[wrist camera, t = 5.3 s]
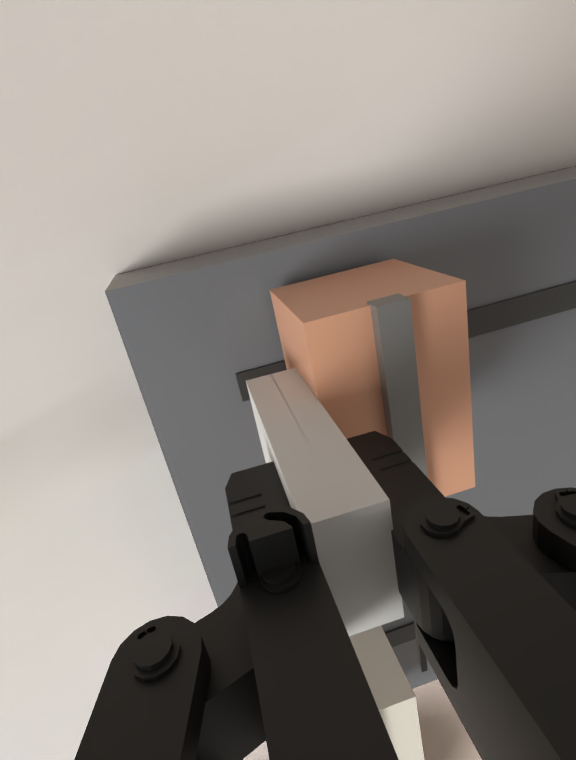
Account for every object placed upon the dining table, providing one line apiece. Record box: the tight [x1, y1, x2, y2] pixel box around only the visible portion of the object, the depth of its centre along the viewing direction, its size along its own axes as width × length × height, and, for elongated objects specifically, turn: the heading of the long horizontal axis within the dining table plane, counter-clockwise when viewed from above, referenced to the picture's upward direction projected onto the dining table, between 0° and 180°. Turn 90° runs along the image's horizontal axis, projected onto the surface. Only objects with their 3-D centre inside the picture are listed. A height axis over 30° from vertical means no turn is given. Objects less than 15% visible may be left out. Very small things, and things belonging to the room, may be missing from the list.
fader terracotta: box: [270, 259, 475, 497], centre depth 14 cm, size 6×4×4 cm, turn 11°
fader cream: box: [349, 626, 424, 760], centre depth 19 cm, size 6×4×4 cm, turn 11°
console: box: [105, 166, 576, 688], centre depth 21 cm, size 22×24×3 cm
